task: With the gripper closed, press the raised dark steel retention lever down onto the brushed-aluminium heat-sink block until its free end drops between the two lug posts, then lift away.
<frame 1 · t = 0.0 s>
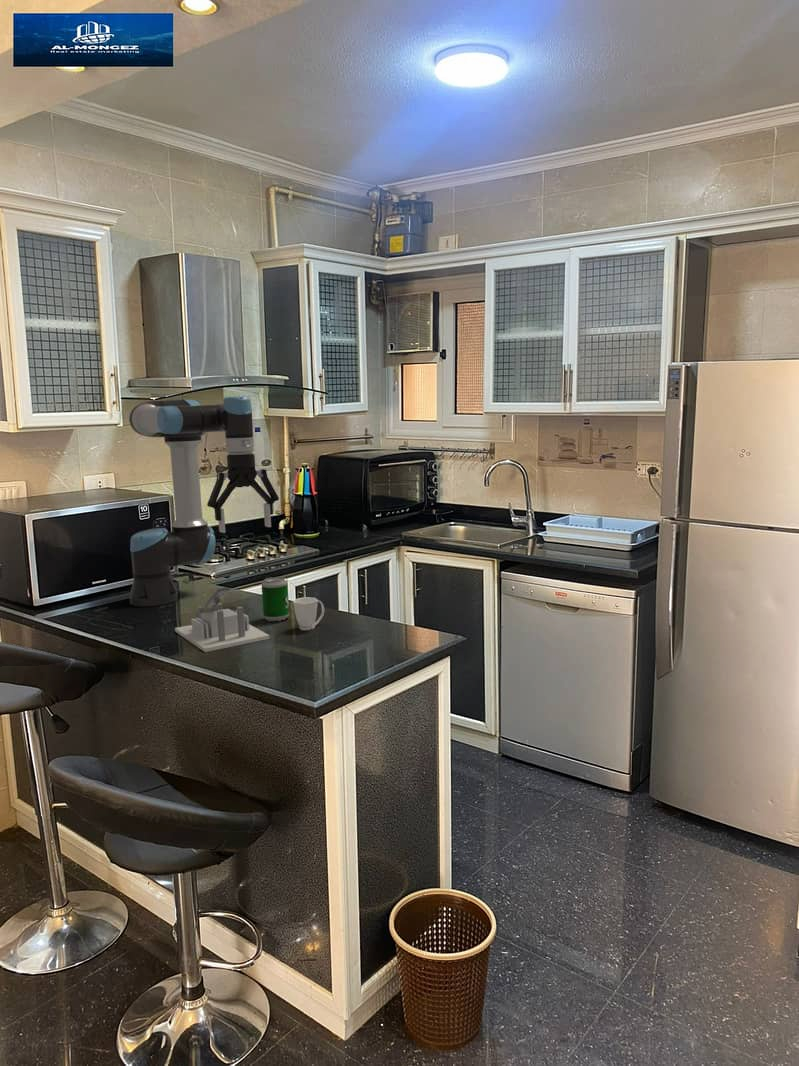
hand: (245, 529, 220), 28 cm above the counter, fingers open, 13 cm apart
lever: (216, 597, 216), point 10 cm above the counter, hinge at 30.0°
soda can: (276, 619, 231), on the counter
cup: (310, 627, 222), on the counter
heatsink base: (221, 635, 217), on the counter
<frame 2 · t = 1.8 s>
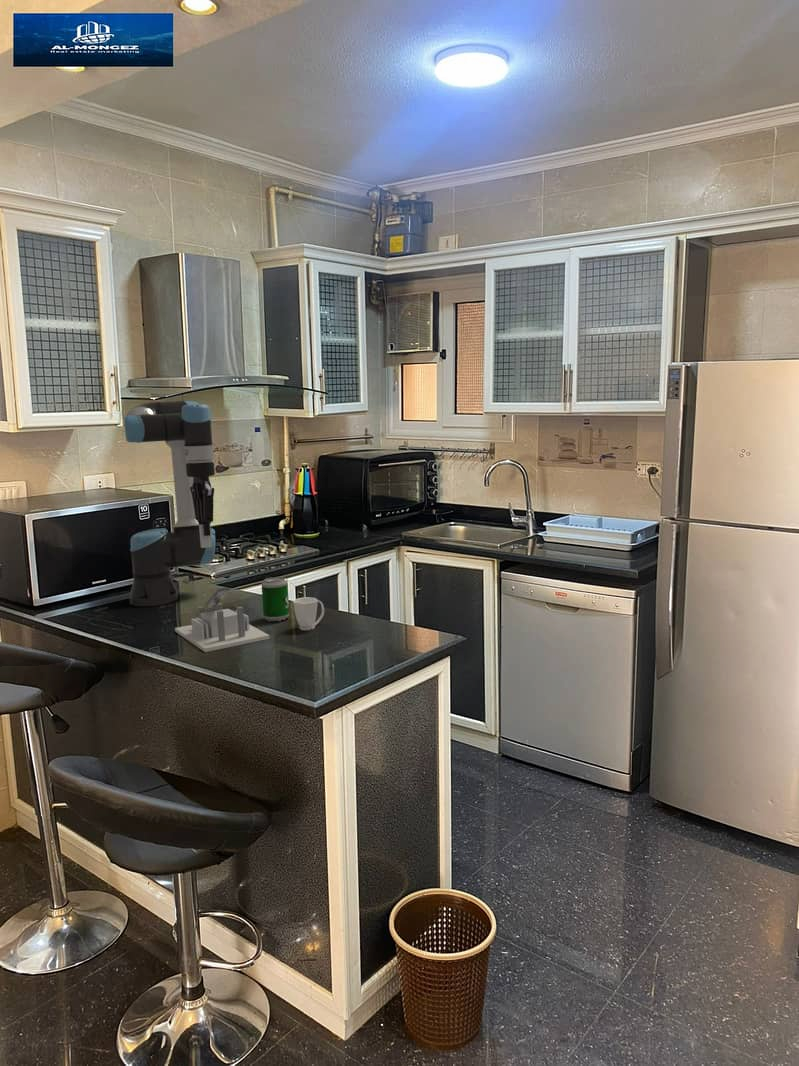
hand: (206, 547, 218), 24 cm above the counter, fingers closed
nothing on the counter moved.
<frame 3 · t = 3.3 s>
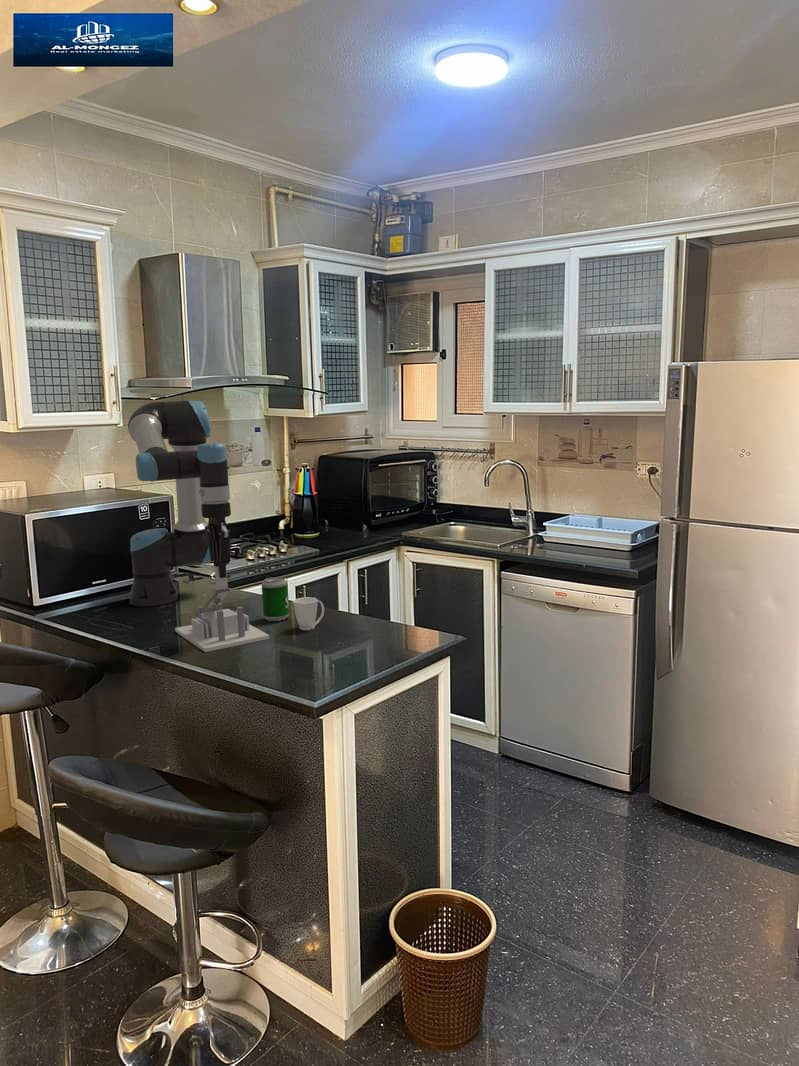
hand: (222, 588, 212), 14 cm above the counter, fingers closed
lever: (216, 597, 216), point 10 cm above the counter, hinge at 28.7°, touching gripper
everything else where it was.
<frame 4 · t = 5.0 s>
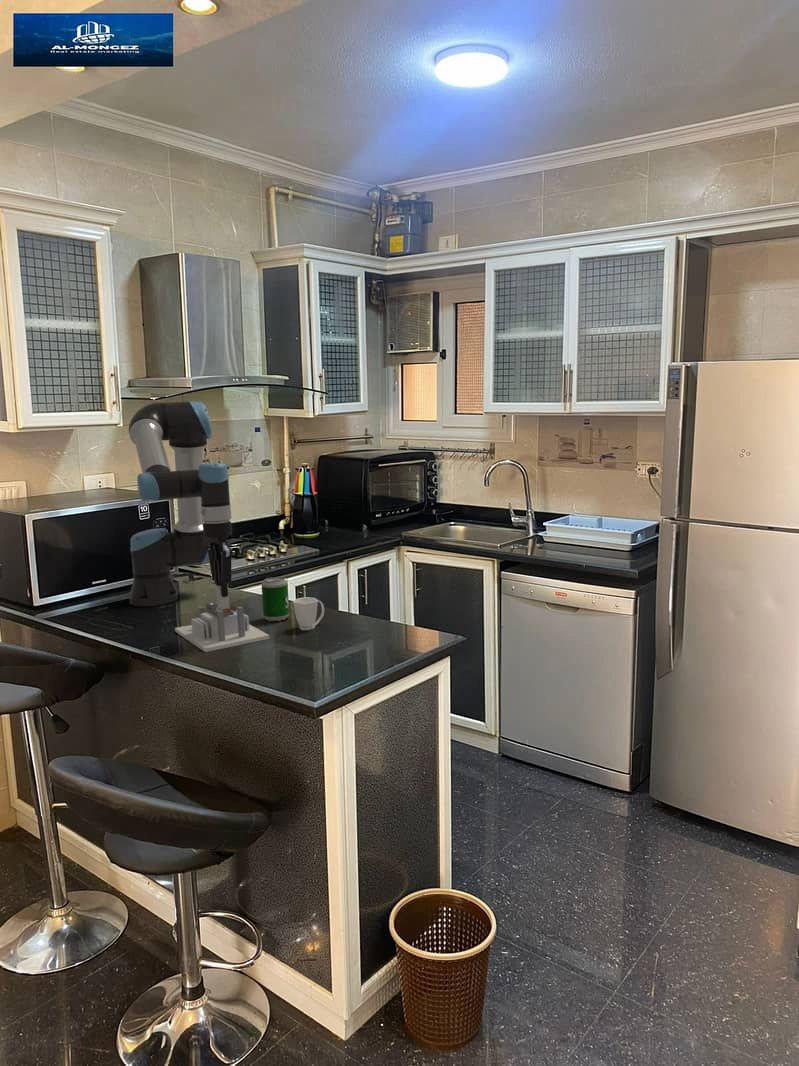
hand: (223, 607, 213), 8 cm above the counter, fingers closed, pressing on lever
lever: (218, 608, 216), point 7 cm above the counter, hinge at 1.2°, touching gripper
everything else where it was.
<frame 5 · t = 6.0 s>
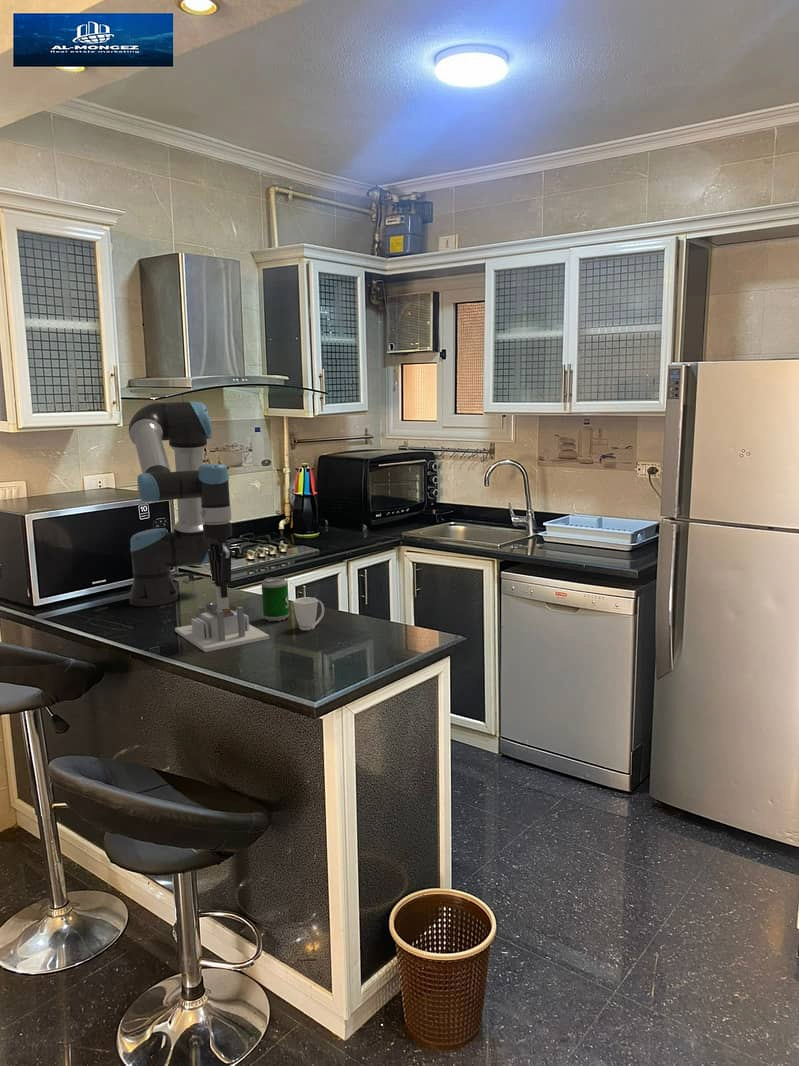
hand: (223, 608, 213), 8 cm above the counter, fingers closed
lever: (218, 609, 216), point 7 cm above the counter, hinge at 0.1°, touching gripper
everything else where it was.
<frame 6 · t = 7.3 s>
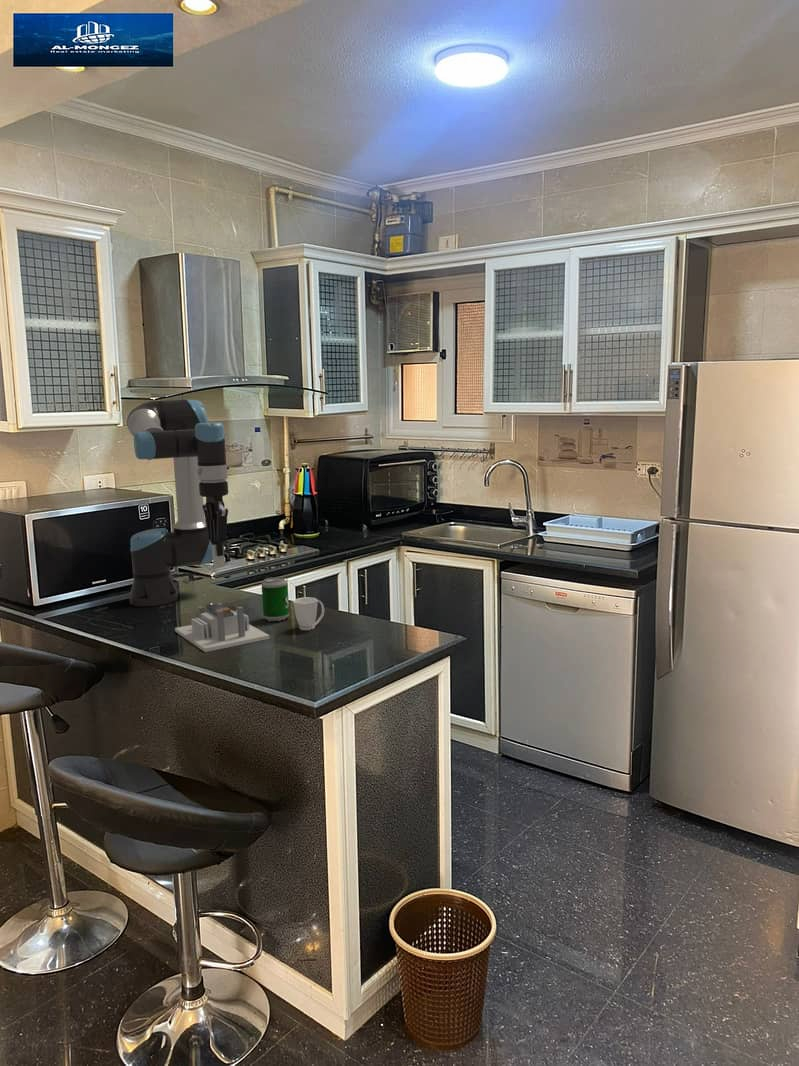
hand: (219, 566, 214), 19 cm above the counter, fingers closed
lever: (218, 609, 216), point 7 cm above the counter, hinge at 0.1°
everything else where it was.
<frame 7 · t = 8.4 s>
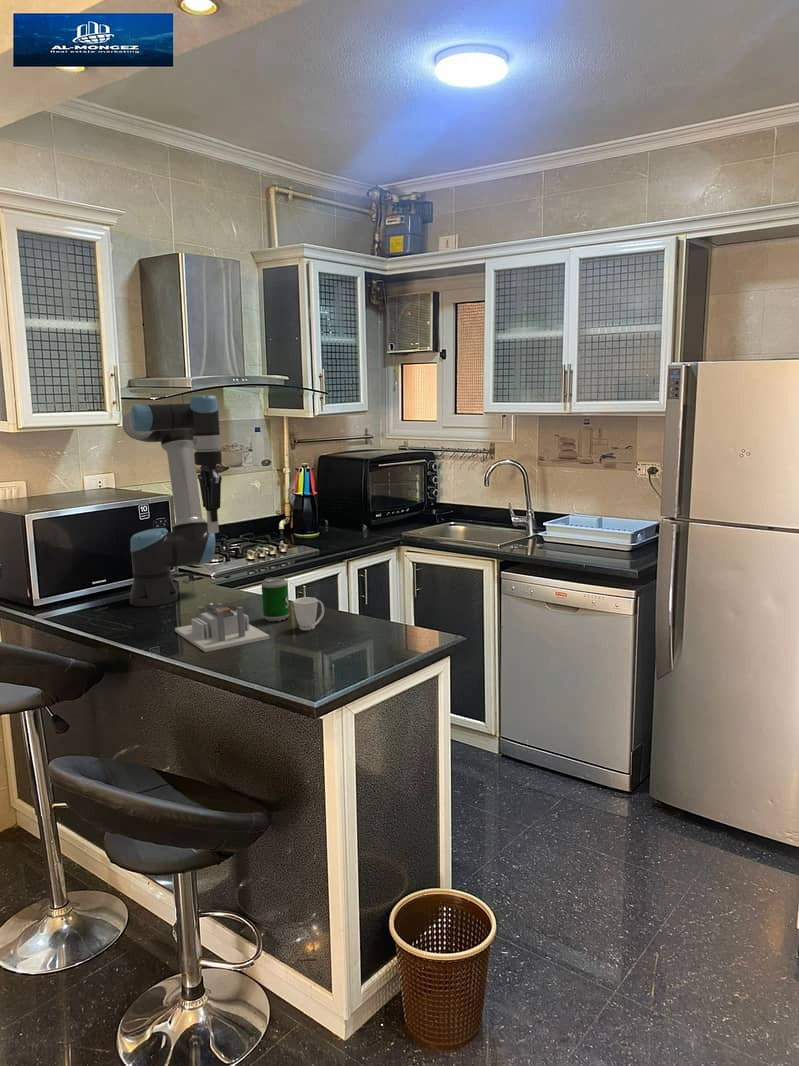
hand: (213, 532, 227), 26 cm above the counter, fingers closed
nothing on the counter moved.
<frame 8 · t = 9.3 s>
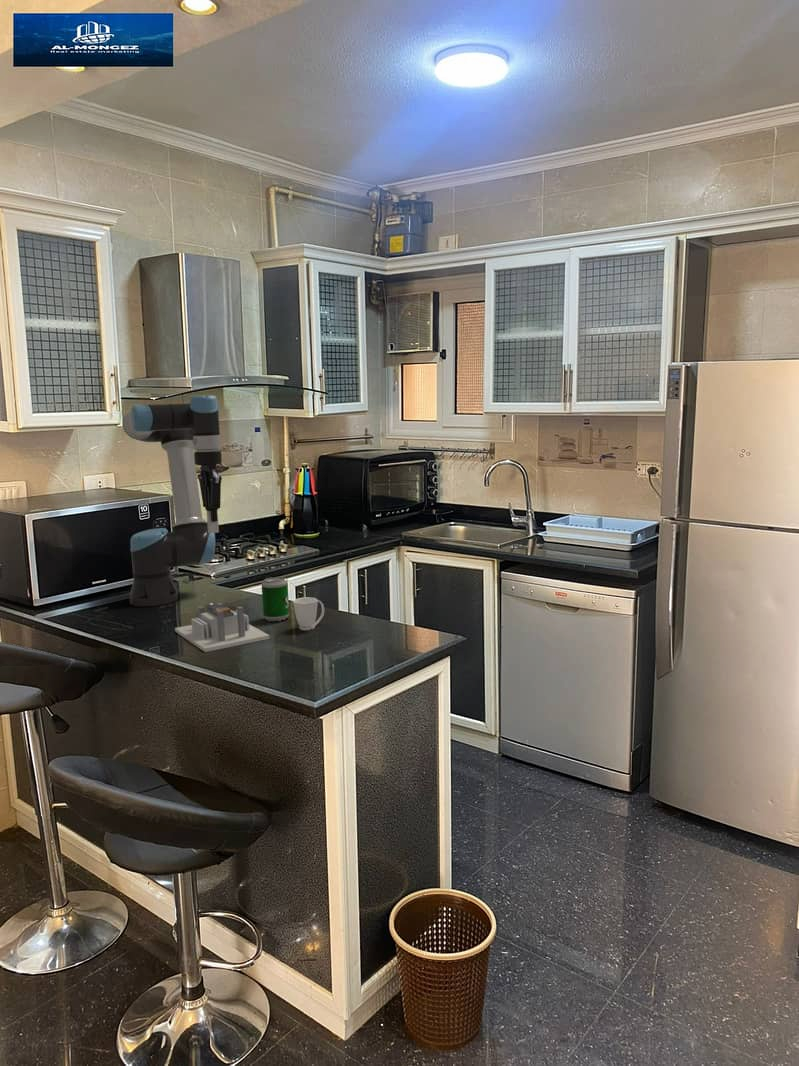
hand: (213, 532, 227), 26 cm above the counter, fingers closed
nothing on the counter moved.
at the end: lever at +0° (first picture: +30°); lever touching nothing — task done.
